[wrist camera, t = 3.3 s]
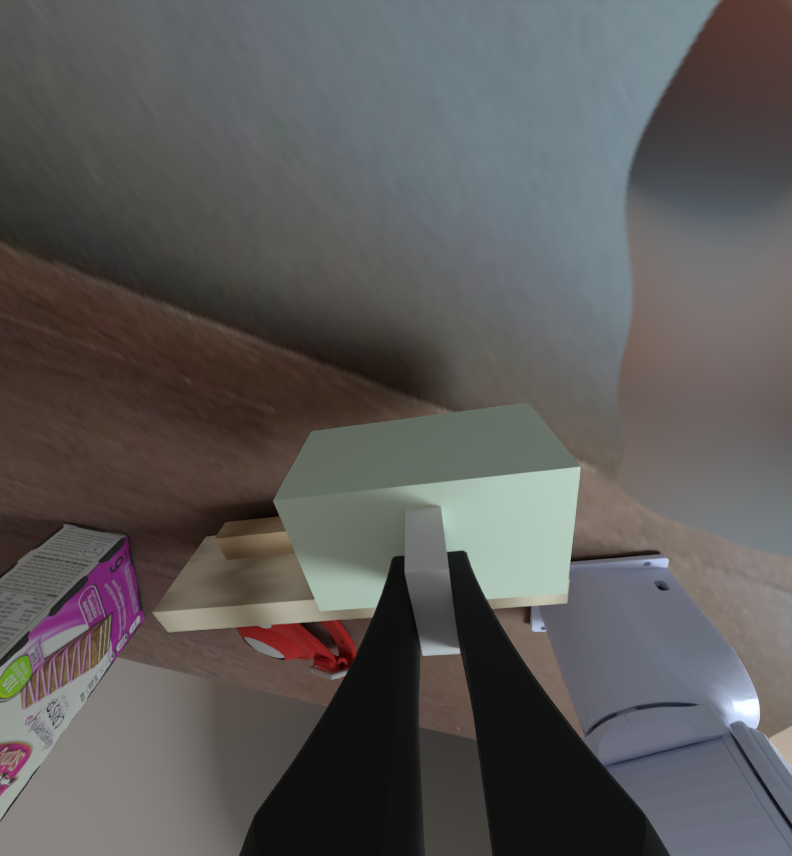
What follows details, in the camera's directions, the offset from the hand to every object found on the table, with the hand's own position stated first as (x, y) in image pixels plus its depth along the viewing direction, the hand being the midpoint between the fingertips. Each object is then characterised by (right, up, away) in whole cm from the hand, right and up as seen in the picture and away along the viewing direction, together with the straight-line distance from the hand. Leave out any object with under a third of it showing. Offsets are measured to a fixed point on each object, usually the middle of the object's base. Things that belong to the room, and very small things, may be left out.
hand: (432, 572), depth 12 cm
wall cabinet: (0, +3, +5) cm, 6 cm away
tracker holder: (-10, -12, +19) cm, 24 cm away
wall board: (-4, -2, +13) cm, 13 cm away
